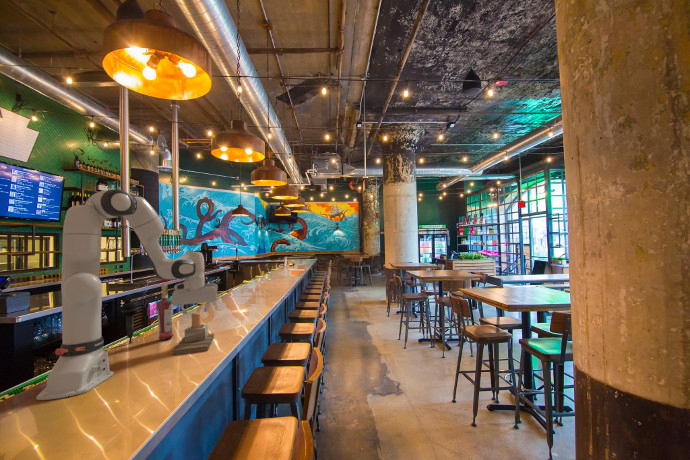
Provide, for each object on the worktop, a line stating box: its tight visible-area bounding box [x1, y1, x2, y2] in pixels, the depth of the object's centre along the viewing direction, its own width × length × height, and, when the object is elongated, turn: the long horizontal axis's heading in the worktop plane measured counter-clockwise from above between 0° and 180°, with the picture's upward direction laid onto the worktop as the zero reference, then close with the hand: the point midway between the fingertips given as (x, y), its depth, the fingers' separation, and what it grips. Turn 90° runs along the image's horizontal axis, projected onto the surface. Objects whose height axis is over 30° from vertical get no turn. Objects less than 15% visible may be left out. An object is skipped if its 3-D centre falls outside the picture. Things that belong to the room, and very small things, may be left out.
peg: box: [191, 312, 202, 329], centre depth 155 cm, size 4×4×12 cm
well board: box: [172, 323, 215, 356], centre depth 150 cm, size 22×14×8 cm, turn 16°
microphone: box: [120, 302, 139, 344], centre depth 159 cm, size 7×7×20 cm
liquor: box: [156, 283, 174, 341], centre depth 164 cm, size 7×7×28 cm
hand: (195, 312), depth 155 cm, fingers open, 8 cm apart
